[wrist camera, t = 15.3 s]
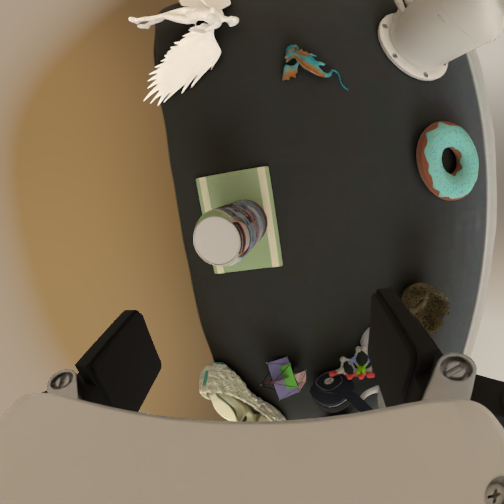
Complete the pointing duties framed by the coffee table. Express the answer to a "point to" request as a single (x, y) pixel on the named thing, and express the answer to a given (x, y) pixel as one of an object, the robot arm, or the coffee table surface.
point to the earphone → (336, 394)
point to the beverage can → (229, 232)
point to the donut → (431, 160)
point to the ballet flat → (234, 396)
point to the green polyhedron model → (285, 378)
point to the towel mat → (245, 188)
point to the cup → (426, 305)
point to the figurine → (188, 45)
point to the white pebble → (365, 338)
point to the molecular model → (356, 372)
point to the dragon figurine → (303, 64)
